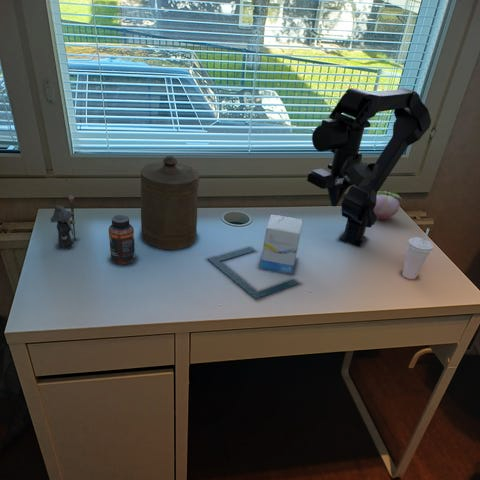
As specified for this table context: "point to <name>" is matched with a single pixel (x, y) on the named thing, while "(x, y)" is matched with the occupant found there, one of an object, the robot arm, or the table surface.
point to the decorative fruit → (386, 204)
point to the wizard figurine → (64, 224)
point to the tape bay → (240, 282)
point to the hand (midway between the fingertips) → (333, 205)
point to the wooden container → (169, 204)
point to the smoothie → (416, 255)
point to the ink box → (281, 243)
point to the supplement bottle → (121, 240)
